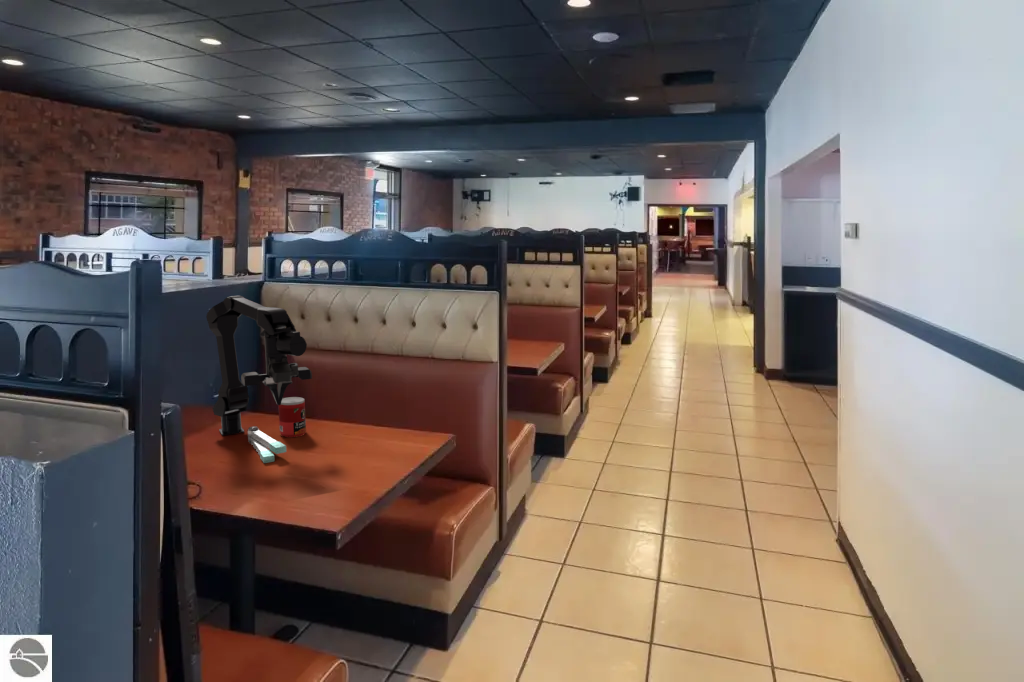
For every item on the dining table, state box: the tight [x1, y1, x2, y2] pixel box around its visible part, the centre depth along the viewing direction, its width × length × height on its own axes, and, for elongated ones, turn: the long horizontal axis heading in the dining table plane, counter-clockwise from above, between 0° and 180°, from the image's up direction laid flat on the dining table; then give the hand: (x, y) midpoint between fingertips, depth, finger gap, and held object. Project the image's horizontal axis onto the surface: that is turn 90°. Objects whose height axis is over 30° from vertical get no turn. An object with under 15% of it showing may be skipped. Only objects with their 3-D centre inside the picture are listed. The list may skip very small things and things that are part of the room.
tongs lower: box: [247, 436, 276, 464], centre depth 185 cm, size 23×3×2 cm, turn 33°
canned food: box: [277, 396, 307, 438], centre depth 200 cm, size 8×8×11 cm
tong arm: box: [247, 425, 287, 455], centre depth 186 cm, size 23×3×2 cm, turn 42°
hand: (278, 404), depth 188 cm, fingers closed
